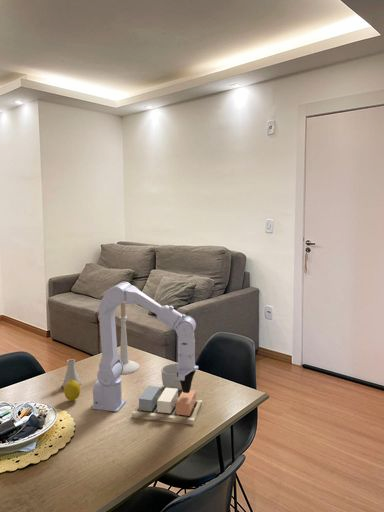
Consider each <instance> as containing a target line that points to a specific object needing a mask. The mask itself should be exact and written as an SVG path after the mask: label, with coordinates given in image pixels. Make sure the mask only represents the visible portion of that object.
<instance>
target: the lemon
mask: <svg viewBox="0 0 384 512" xmlns="http://www.w3.org/2000/svg"><path fill="white" fill-rule="evenodd" d="M80 395H81V385H79V383H78V382H77V381H74V380H71V381H69V382H68V383H67V384H66V386H65V388H64V396H65V398H66V400H69V401H71V402H74V401H75V400H77V399H78V398H79V397H80Z"/></svg>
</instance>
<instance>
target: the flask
mask: <svg viewBox="0 0 384 512" xmlns="http://www.w3.org/2000/svg"><path fill="white" fill-rule="evenodd" d="M75 362H76V359H73V358H72V359H70V358H69V359H67V360H66V364H67V368H66V372H65V377H64V379H63V382H62V388H64V389H65V386H66V384H67V383H68V382H69V381H71V380H74V381H77V382H78V383H79V385H80V386H81V385H82V382H81V379H80V377H79V375H78V372H77V370H76V369H77V368H76V366H75Z"/></svg>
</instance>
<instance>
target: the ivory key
mask: <svg viewBox="0 0 384 512" xmlns="http://www.w3.org/2000/svg"><path fill="white" fill-rule="evenodd" d="M178 398H179V391H178V389H175V388H166V387H164V389H163V391H162V393H160V397H159V399H158V400H157V404H156V408H157V412H158V413H161V414H172V413H173V412H172V411H173V410H174V408H175V407H176V402H177V400H178Z"/></svg>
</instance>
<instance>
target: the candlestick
mask: <svg viewBox="0 0 384 512" xmlns="http://www.w3.org/2000/svg"><path fill="white" fill-rule="evenodd" d="M125 302H126V301H124V302H123V303H122V304H120V316H119V317H118V319H119V321H120V323H121V325H120V327H121V328H120V350H119V351H120V352H119V353H120V354H119V355H120V360H121V362H122V364H123V371H122V373H121V374H120V375H129V374H133V373H135V372H137V371H139V370H140V364H139V363H138V362H136V361H134V360H129V351H128V338H127V335H128V334H127V325H126V322H127V320H128V319H127V318H128V316H127V315H126V310H127V309H126V304H125Z"/></svg>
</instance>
